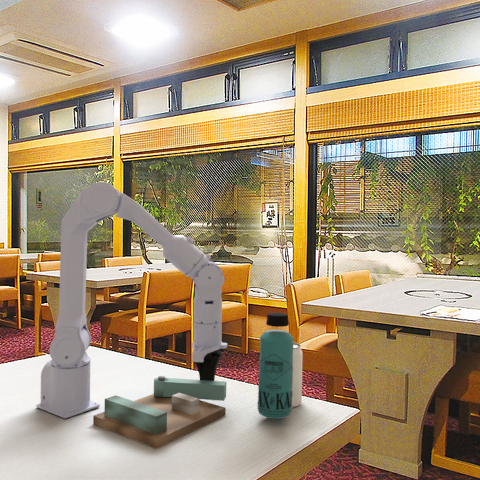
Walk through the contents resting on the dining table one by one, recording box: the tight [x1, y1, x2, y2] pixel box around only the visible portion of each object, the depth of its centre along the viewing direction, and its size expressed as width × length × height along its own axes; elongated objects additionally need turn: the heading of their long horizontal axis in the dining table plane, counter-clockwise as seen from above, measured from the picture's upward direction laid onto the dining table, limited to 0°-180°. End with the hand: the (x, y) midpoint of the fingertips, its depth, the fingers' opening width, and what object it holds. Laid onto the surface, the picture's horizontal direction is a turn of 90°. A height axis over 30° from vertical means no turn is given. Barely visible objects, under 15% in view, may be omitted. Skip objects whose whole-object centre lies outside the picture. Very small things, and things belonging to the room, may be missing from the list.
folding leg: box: [153, 375, 227, 402], centre depth 99 cm, size 14×3×4 cm, turn 82°
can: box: [291, 341, 304, 409], centre depth 101 cm, size 6×6×12 cm
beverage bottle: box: [256, 312, 295, 419], centre depth 92 cm, size 6×7×20 cm
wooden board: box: [92, 393, 227, 450], centre depth 92 cm, size 16×18×4 cm
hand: (207, 388), depth 101 cm, fingers closed, pressing on folding leg
